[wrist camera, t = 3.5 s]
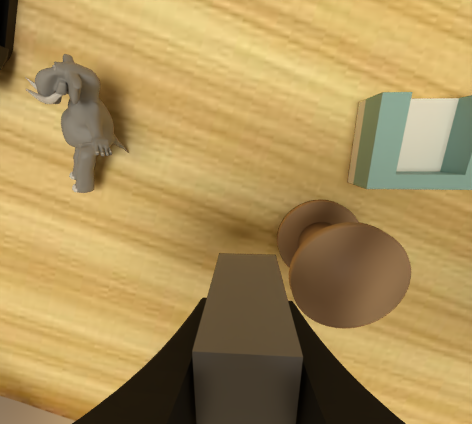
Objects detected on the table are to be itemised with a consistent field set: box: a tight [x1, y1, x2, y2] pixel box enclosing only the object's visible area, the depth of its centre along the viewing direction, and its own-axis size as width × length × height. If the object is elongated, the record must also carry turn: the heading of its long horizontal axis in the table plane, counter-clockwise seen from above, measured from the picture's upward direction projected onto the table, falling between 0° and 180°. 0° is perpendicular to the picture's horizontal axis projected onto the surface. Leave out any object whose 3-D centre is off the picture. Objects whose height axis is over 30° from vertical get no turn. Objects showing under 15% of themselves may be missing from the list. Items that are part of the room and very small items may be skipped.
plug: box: [192, 253, 303, 424], centre depth 9 cm, size 3×4×6 cm
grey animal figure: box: [25, 54, 129, 193], centre depth 16 cm, size 10×6×9 cm
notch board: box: [348, 92, 472, 190], centre depth 16 cm, size 8×6×3 cm
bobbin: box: [277, 200, 411, 328], centre depth 16 cm, size 7×7×7 cm
